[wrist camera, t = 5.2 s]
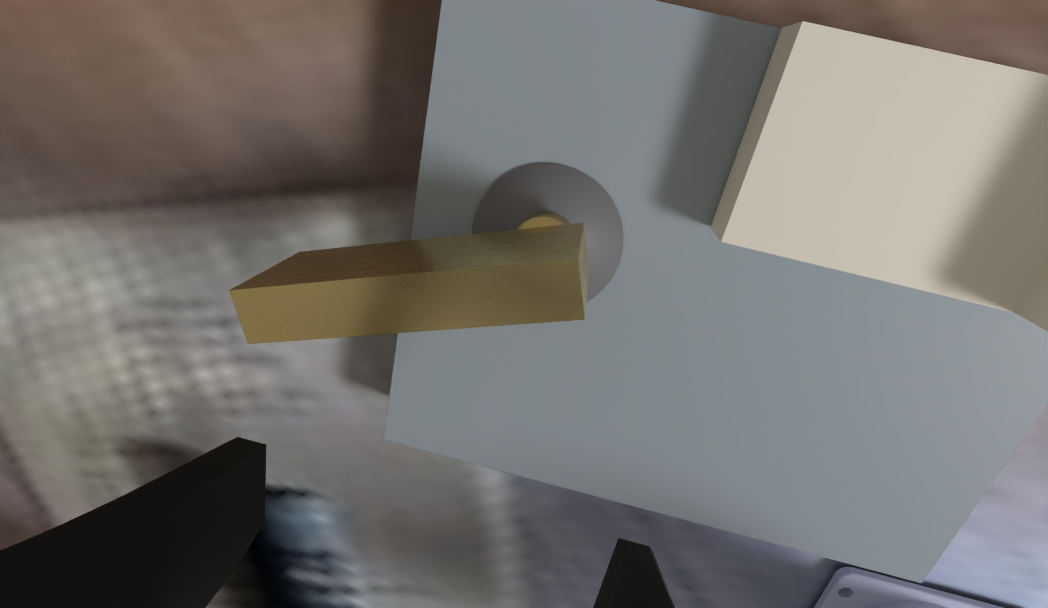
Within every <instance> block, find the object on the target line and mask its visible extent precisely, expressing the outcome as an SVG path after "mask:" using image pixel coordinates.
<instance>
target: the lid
mask: <svg viewBox="0 0 1048 608" xmlns="http://www.w3.org/2000/svg"><path fill="white" fill-rule="evenodd" d="M711 229H712V230H713V231H714V233H715V234H716V235H717V237H718V238H719V240H720V241H721V242H724V243H728V244H732V245H736V246H740V247H744V248H748V249H753V250H757V251H761V252H765V253H769V254H773V255H777V256H782V257H786V258H790V259H794V260H798V261H802V262H806V263H811V264H815V265H819V266H823V267H827V268H831V269H835V270H840V271H844V272H848V273H852V274H856V275H860V276H864V277H869V278H873V279H877V280H881V281H885V282H889V283H893V284H898V285H902V286H906V287H910V288H914V289H918V290H922V291H927V292H931V293H935V294H939V295H943V296H947V297H951V298H956V299H960V300H964V301H968V302H972V303H976V304H980V305H985V306H989V307H993V308H997V309H1001V310H1005V311H1009V312H1014V313H1016V314H1017V315H1019V316H1021V317H1023V318H1024V319H1026V320H1028V321H1030V322H1032V323H1033V324H1035V325H1037V326H1039V327H1041V328H1042V329H1044V330H1046V331H1048V75H1045V74H1041V73H1036V72H1031V71H1027V70H1022V69H1018V68H1013V67H1009V66H1004V65H1000V64H995V63H991V62H986V61H982V60H977V59H972V58H968V57H963V56H959V55H954V54H950V53H945V52H941V51H936V50H932V49H927V48H922V47H918V46H913V45H909V44H904V43H900V42H895V41H891V40H886V39H882V38H877V37H873V36H868V35H863V34H859V33H854V32H850V31H845V30H841V29H836V28H832V27H827V26H823V25H818V24H814V23H809V22H804V21H801V22H798V23H795V24H792V25H789V26H786V27H783V28H782V29H781V32H780V34H779V37H778V40H777V43H776V46H775V48H774V51H773V54H772V57H771V60H770V62H769V65H768V68H767V71H766V74H765V76H764V79H763V82H762V85H761V88H760V90H759V93H758V96H757V99H756V102H755V104H754V107H753V110H752V113H751V116H750V118H749V121H748V124H747V127H746V130H745V132H744V135H743V138H742V141H741V144H740V147H739V149H738V152H737V155H736V158H735V161H734V163H733V166H732V169H731V172H730V175H729V177H728V180H727V183H726V186H725V189H724V191H723V194H722V197H721V200H720V203H719V205H718V208H717V211H716V214H715V217H714V219H713V222H712V225H711Z"/></svg>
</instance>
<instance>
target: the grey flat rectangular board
mask: <svg viewBox="0 0 1048 608" xmlns="http://www.w3.org/2000/svg"><path fill="white" fill-rule="evenodd" d="M781 29H782V28H778V27H773V26H769V25H764V24H760V23H755V22H751V21H746V20H741V19H737V18H732V17H728V16H723V15H719V14H714V13H710V12H705V11H701V10H696V9H692V8H687V7H683V6H678V5H674V4H669V3H665V2H660V1H656V0H442V3H441V11H440V18H439V26H438V33H437V41H436V48H435V56H434V64H433V71H432V79H431V86H430V94H429V101H428V109H427V116H426V124H425V132H424V139H423V147H422V154H421V162H420V169H419V177H418V184H417V192H416V200H415V207H414V215H413V222H412V230H411V237H410V240H419V239H429V238H439V237H448V236H458V235H467V234H477V233H487V232H496V231H506V230H516V229H518V227H519V225H520V224H521V223H522V221H523V220H524V219H526V218H527V217H528V216H530V215H532V214H534V213H537V212H545V211H547V212H553V213H557V214H559V215H561V216H563V217H564V218H566V219H567V220H568V221H569V222H570V224H573V223H583V222H584V227H585V237H586V247H587V257H588V267H589V279H588V290H587V301H586V312H585V320H575V321H561V322H547V323H533V324H519V325H505V326H492V327H478V328H464V329H450V330H436V331H422V332H408V333H398V336H397V343H396V351H395V358H394V366H393V373H392V381H391V389H390V396H389V404H388V411H387V419H386V426H385V434H384V440H386V441H390V442H394V443H398V444H401V445H405V446H409V447H413V448H416V449H420V450H424V451H428V452H431V453H435V454H439V455H443V456H446V457H450V458H454V459H458V460H461V461H465V462H469V463H473V464H476V465H480V466H484V467H488V468H491V469H495V470H499V471H503V472H506V473H510V474H514V475H518V476H521V477H525V478H529V479H533V480H536V481H540V482H544V483H548V484H551V485H555V486H559V487H562V488H566V489H570V490H574V491H577V492H581V493H585V494H589V495H592V496H596V497H600V498H604V499H607V500H611V501H615V502H619V503H622V504H626V505H630V506H634V507H637V508H641V509H645V510H649V511H652V512H656V513H660V514H664V515H667V516H671V517H675V518H679V519H682V520H686V521H690V522H694V523H697V524H701V525H705V526H709V527H712V528H716V529H720V530H724V531H727V532H731V533H735V534H739V535H742V536H746V537H750V538H754V539H757V540H761V541H765V542H769V543H772V544H776V545H780V546H784V547H787V548H791V549H795V550H798V551H802V552H806V553H810V554H813V555H817V556H821V557H825V558H828V559H832V560H836V561H840V562H843V563H847V564H851V565H855V566H858V567H862V568H866V569H870V570H873V571H877V572H881V573H885V574H888V575H892V576H896V577H900V578H903V579H907V580H911V581H915V582H918V583H922V582H923V581H924V579H925V578H926V576H927V575H928V574H929V572H930V571H931V569H932V568H933V566H934V565H935V564H936V562H937V561H938V559H939V558H940V556H941V555H942V554H943V552H944V551H945V549H946V548H947V546H948V545H949V544H950V542H951V541H952V539H953V538H954V537H955V535H956V534H957V532H958V531H959V529H960V528H961V527H962V525H963V524H964V522H965V521H966V519H967V518H968V517H969V515H970V514H971V512H972V511H973V510H974V508H975V507H976V505H977V504H978V502H979V501H980V500H981V498H982V497H983V495H984V494H985V492H986V491H987V490H988V488H989V487H990V485H991V484H992V482H993V481H994V480H995V478H996V477H997V475H998V474H999V473H1000V471H1001V470H1002V468H1003V467H1004V465H1005V464H1006V463H1007V461H1008V460H1009V458H1010V457H1011V455H1012V454H1013V453H1014V451H1015V450H1016V448H1017V447H1018V446H1019V444H1020V443H1021V441H1022V440H1023V438H1024V437H1025V436H1026V434H1027V433H1028V431H1029V430H1030V428H1031V427H1032V426H1033V424H1034V423H1035V421H1036V420H1037V418H1038V417H1039V416H1040V414H1041V413H1042V411H1043V410H1044V409H1045V407H1046V406H1047V404H1048V331H1046V330H1044V329H1042V328H1041V327H1039V326H1037V325H1035V324H1033V323H1032V322H1030V321H1028V320H1026V319H1024V318H1023V317H1021V316H1019V315H1017V314H1016V313H1014V312H1009V311H1005V310H1001V309H997V308H993V307H989V306H985V305H980V304H976V303H972V302H968V301H964V300H960V299H956V298H951V297H947V296H943V295H939V294H935V293H931V292H927V291H922V290H918V289H914V288H910V287H906V286H902V285H898V284H893V283H889V282H885V281H881V280H877V279H873V278H869V277H864V276H860V275H856V274H852V273H848V272H844V271H840V270H835V269H831V268H827V267H823V266H819V265H815V264H811V263H806V262H802V261H798V260H794V259H790V258H786V257H782V256H777V255H773V254H769V253H765V252H761V251H757V250H753V249H748V248H744V247H740V246H736V245H732V244H728V243H724V242H721V241H720V240H719V238H718V237H717V235H716V234H715V233H714V231H713V230H712V229H711V225H712V222H713V219H714V217H715V214H716V211H717V208H718V205H719V203H720V200H721V197H722V194H723V191H724V189H725V186H726V183H727V180H728V177H729V175H730V172H731V169H732V166H733V163H734V161H735V158H736V155H737V152H738V149H739V147H740V144H741V141H742V138H743V135H744V132H745V130H746V127H747V124H748V121H749V118H750V116H751V113H752V110H753V107H754V104H755V102H756V99H757V96H758V93H759V90H760V88H761V85H762V82H763V79H764V76H765V74H766V71H767V68H768V65H769V62H770V60H771V57H772V54H773V51H774V48H775V46H776V43H777V40H778V37H779V34H780V32H781Z"/></svg>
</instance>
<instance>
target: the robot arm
mask: <svg viewBox="0 0 1048 608" xmlns="http://www.w3.org/2000/svg"><path fill="white" fill-rule="evenodd" d="M265 480H266V444H262V443H258V442H254V441H250V440H247V439H243V438H239V437H237V438H235V439H233V440H231V441H229V442H227V443H225V444H223V445H221V446H219V447H217V448H215V449H213V450H211V451H209V452H207V453H205V454H203V455H201V456H200V457H198V458H196V459H194V460H192V461H190V462H188V463H186V464H184V465H182V466H180V467H179V468H177V469H175V470H173V471H171V472H169V473H167V474H165V475H163V476H161V477H159V478H157V479H155V480H153V481H151V482H149V483H147V484H145V485H143V486H141V487H139V488H137V489H135V490H133V491H132V492H130V493H128V494H126V495H124V496H122V497H120V498H117V499H115V500H113V501H111V502H109V503H107V504H105V505H102V506H100V507H98V508H96V509H94V510H92V511H90V512H87V513H85V514H83V515H81V516H79V517H77V518H75V519H72V520H70V521H68V522H66V523H64V524H62V525H59V526H57V527H55V528H53V529H51V530H48V531H46V532H44V533H42V534H39V535H37V536H35V537H32V538H30V539H27V540H25V541H23V542H20V543H18V544H15V545H13V546H11V547H8V548H6V549H3V550H0V608H205V607H206V606H207V605H208V603H209V602H210V601H211V599H212V598H213V597H214V596H215V594H216V593H217V592H218V590H219V589H220V588H221V587H222V585H223V584H224V583H225V582H226V580H227V579H228V578H229V576H230V575H231V574H232V572H233V571H234V570H235V568H236V567H237V565H238V564H239V562H240V561H241V559H242V557H243V556H244V554H245V553H246V551H247V550H248V548H249V546H250V545H251V543H252V541H253V540H254V538H255V537H256V535H257V533H258V532H259V530H260V528H261V527H262V525H263V523H264V522H265ZM842 588H844V589H842ZM593 608H675V607H674V604H673V602H672V600H671V597H670V595H669V592H668V590H667V587H666V585H665V582H664V580H663V577H662V574H661V572H660V569H659V567H658V564H657V561H656V559H655V556H654V553H653V551H652V550H651V548H650V547H649V546H645V545H642V544H638V543H634V542H630V541H627V540H623V539H619V538H618V541H617V544H616V547H615V549H614V552H613V555H612V558H611V560H610V563H609V566H608V569H607V571H606V574H605V577H604V580H603V582H602V585H601V588H600V591H599V594H598V596H597V599H596V602H595V605H594V607H593ZM814 608H1003V607H1000V606H996V605H992V604H988V603H985V602H981V601H977V600H973V599H970V598H966V597H962V596H959V595H955V594H951V593H947V592H944V591H940V590H936V589H932V588H929V587H925V586H921V585H917V584H914V583H910V582H906V581H902V580H899V579H895V578H891V577H887V576H884V575H880V574H876V573H872V572H869V571H865V570H861V569H857V568H854V567H842V568H840V569H838V570H837V571H836V572H835V574H834V575H833V577H832V578H831V580H830V582H829V583H828V585H827V587H826V588H825V590H824V592H823V593H822V595H821V597H820V598H819V600H818V601H817V603H816V605H815V606H814Z"/></svg>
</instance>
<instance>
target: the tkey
mask: <svg viewBox="0 0 1048 608" xmlns="http://www.w3.org/2000/svg"><path fill="white" fill-rule="evenodd" d="M588 279H589V267H588V257H587V247H586V237H585V227H584V222H583V223H573V224H570V222H569V221H568V220H567V219H566V218H564V217H563V216H561V215H559V214H557V213H553V212H547V211H545V212H537V213H534V214H532V215H530V216H528V217H527V218H526V219H524V220H523V221H522V223H521V224H520V225H519V227H518V229H516V230H506V231H496V232H487V233H477V234H467V235H458V236H448V237H439V238H429V239H419V240H410V241H400V242H390V243H381V244H371V245H361V246H352V247H342V248H333V249H323V250H313V251H304V252H298V253H297V254H295V255H293V256H291V257H289V258H288V259H286V260H284V261H282V262H280V263H278V264H277V265H275V266H273V267H271V268H269V269H267V270H266V271H264V272H262V273H260V274H258V275H256V276H255V277H253V278H251V279H249V280H247V281H245V282H244V283H242V284H240V285H238V286H236V287H234V288H233V289H231V290H229V291H230V294H231V297H232V300H233V302H234V305H235V308H236V311H237V314H238V317H239V320H240V322H241V325H242V328H243V331H244V334H245V337H246V340H247V343H248V344H256V343H270V342H283V341H297V340H311V339H325V338H339V337H353V336H367V335H381V334H394V333H408V332H422V331H436V330H450V329H464V328H478V327H492V326H505V325H519V324H533V323H547V322H561V321H575V320H585V312H586V301H587V290H588Z"/></svg>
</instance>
